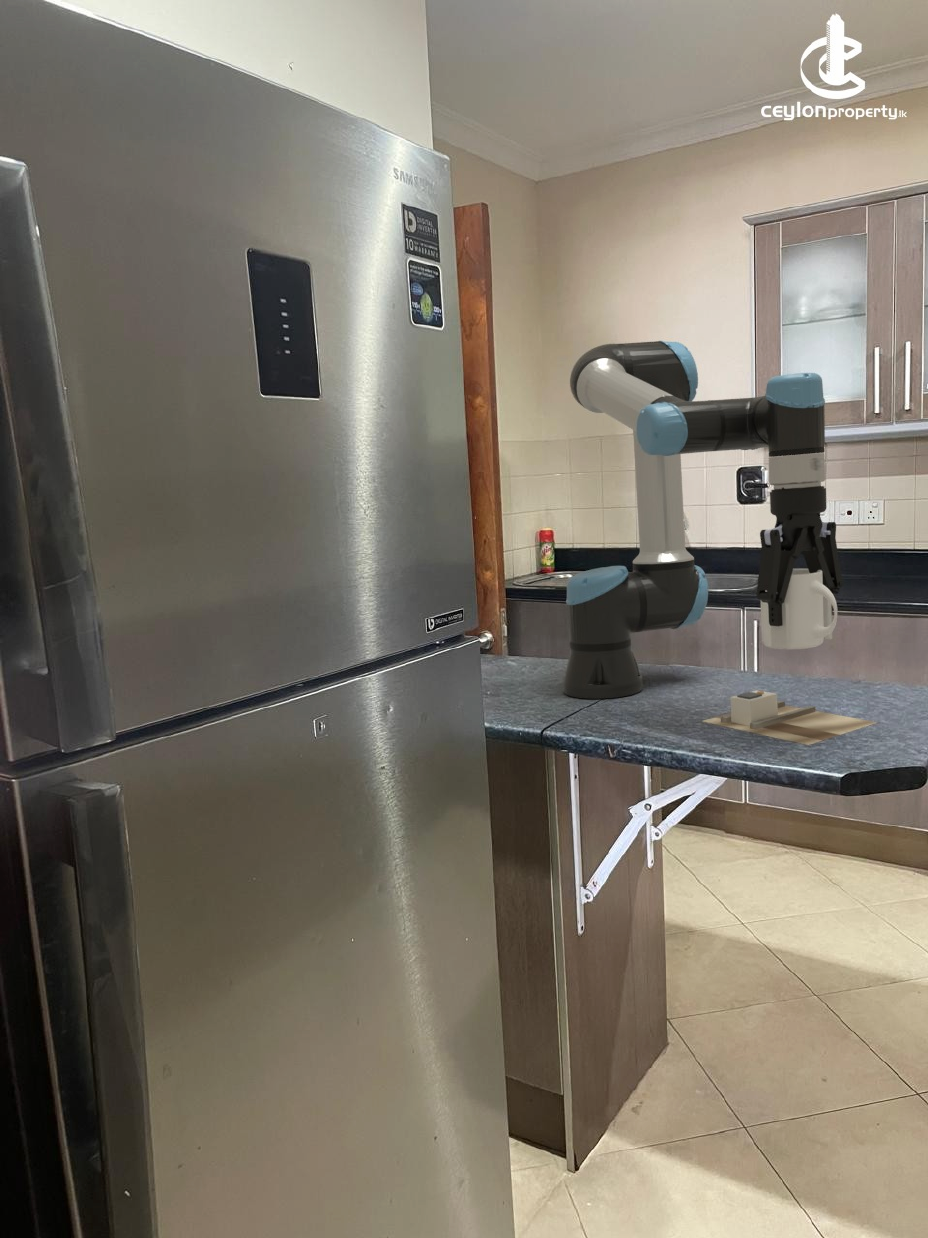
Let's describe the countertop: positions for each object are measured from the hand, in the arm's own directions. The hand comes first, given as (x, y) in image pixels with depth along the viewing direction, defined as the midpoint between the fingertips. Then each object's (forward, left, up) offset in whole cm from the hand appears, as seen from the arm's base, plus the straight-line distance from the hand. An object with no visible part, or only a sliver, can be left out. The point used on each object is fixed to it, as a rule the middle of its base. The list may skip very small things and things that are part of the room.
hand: (802, 642), depth 135 cm
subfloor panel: (-6, +3, -14) cm, 16 cm away
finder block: (-10, 0, -13) cm, 16 cm away
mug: (0, 0, -1) cm, 1 cm away
